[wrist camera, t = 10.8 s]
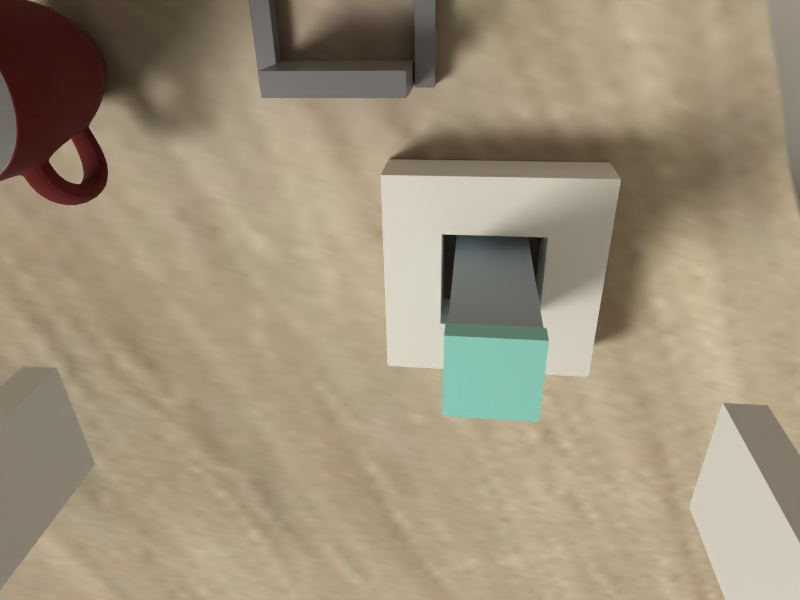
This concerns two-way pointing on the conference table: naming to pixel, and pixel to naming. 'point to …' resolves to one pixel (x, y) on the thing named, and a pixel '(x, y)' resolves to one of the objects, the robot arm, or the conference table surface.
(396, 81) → the holster
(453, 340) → the plug
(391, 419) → the conference table surface
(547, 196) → the frame
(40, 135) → the mug
